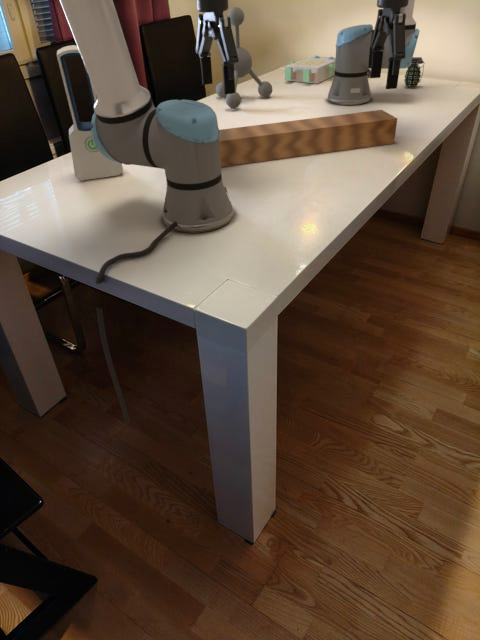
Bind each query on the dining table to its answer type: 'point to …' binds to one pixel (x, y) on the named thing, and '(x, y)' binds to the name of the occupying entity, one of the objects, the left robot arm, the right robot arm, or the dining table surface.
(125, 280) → the dining table surface
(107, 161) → the electronic device
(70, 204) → the dining table surface
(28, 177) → the dining table surface
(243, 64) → the molecular model
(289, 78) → the decorative block
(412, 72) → the grenade
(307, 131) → the long wooden beam
